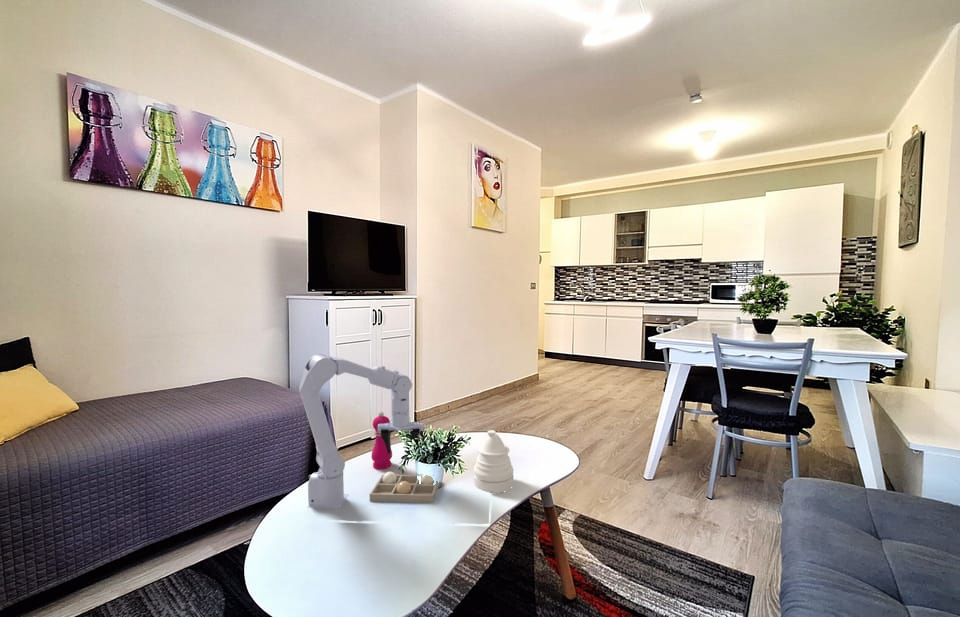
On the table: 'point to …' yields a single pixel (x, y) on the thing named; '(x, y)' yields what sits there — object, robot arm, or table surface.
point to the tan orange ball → (404, 487)
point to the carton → (390, 494)
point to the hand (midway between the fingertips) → (401, 452)
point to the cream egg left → (389, 478)
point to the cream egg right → (427, 480)
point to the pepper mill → (380, 445)
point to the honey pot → (493, 466)
